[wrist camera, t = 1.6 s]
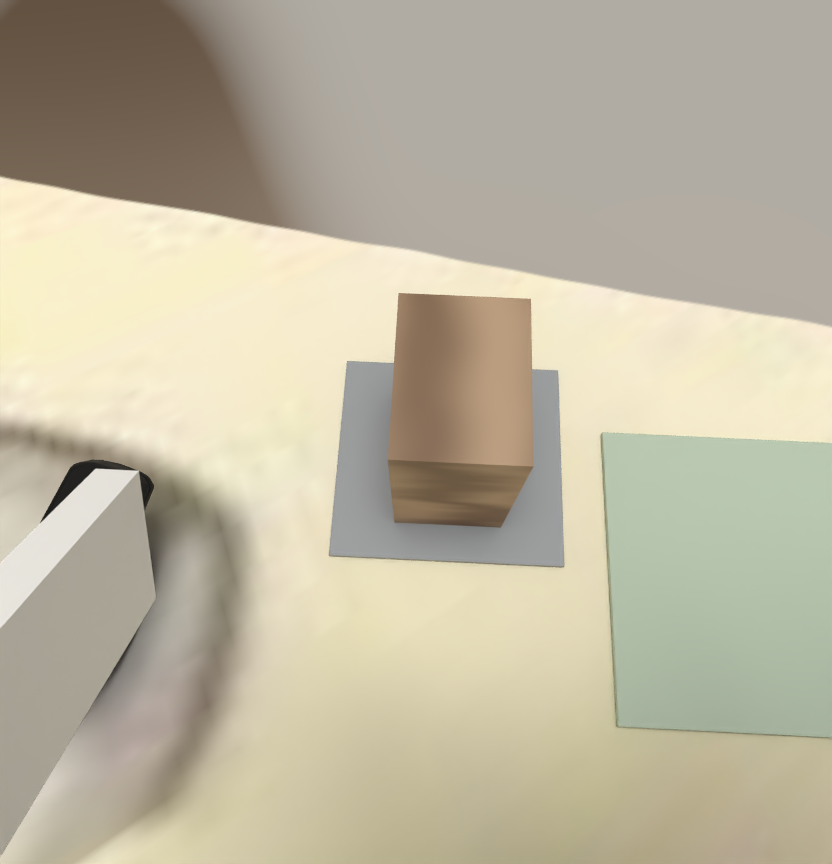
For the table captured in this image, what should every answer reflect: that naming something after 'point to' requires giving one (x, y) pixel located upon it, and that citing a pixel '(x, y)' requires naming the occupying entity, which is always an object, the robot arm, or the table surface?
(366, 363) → the gray tile
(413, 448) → the walnut block
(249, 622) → the table surface
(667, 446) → the rubber mat
